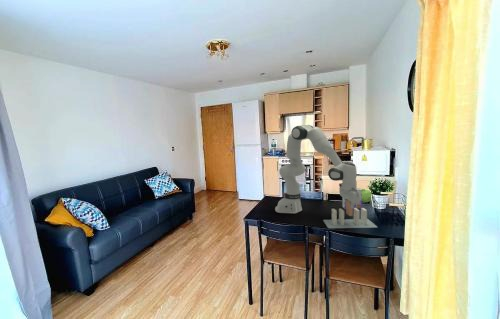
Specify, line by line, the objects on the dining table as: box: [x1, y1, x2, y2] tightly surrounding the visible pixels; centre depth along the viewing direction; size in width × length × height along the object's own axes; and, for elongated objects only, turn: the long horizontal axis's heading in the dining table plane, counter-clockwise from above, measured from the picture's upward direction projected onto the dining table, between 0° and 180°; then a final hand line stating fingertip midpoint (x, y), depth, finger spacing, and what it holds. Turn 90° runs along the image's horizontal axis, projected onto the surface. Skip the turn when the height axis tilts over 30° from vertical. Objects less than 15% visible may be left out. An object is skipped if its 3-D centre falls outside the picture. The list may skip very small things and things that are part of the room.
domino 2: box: [338, 207, 345, 225], centre depth 154 cm, size 2×5×10 cm, turn 176°
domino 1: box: [331, 208, 338, 225], centre depth 154 cm, size 2×5×10 cm, turn 176°
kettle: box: [361, 188, 372, 204], centre depth 198 cm, size 15×14×11 cm
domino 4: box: [353, 208, 360, 225], centre depth 153 cm, size 2×5×10 cm, turn 176°
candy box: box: [342, 187, 363, 210], centre depth 183 cm, size 14×6×16 cm, turn 84°
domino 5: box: [360, 207, 368, 225], centre depth 153 cm, size 2×5×10 cm, turn 176°
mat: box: [322, 218, 378, 229], centre depth 154 cm, size 32×14×1 cm, turn 86°
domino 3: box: [345, 200, 354, 217], centre depth 152 cm, size 2×5×10 cm, turn 5°
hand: (349, 206), depth 152 cm, fingers closed on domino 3, 5 cm apart
